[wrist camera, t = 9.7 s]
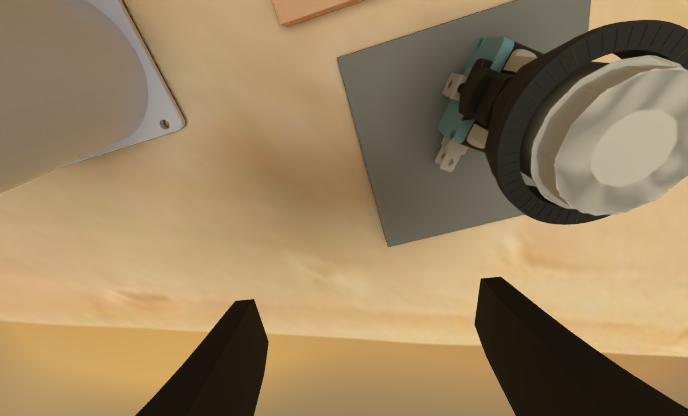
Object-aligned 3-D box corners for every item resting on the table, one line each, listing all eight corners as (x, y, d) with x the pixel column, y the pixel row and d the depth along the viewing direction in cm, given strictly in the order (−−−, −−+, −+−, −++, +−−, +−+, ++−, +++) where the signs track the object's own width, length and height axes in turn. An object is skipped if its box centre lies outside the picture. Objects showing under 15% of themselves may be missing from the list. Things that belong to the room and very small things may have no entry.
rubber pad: (386, 241, 21) (388, 247, 21) (337, 57, 16) (337, 58, 15) (567, 198, 20) (573, 202, 19) (583, -22, 14) (592, -24, 14)
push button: (476, 173, 18) (604, 295, 9) (394, 146, 17) (451, 252, 8) (544, 56, 15) (827, 72, 6) (449, 15, 14) (625, -30, 5)
